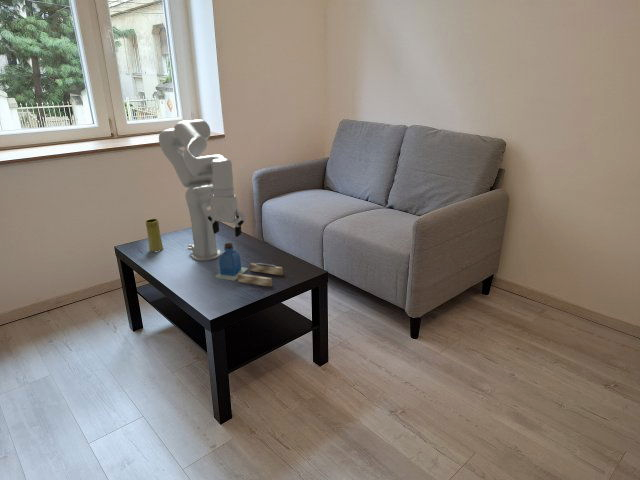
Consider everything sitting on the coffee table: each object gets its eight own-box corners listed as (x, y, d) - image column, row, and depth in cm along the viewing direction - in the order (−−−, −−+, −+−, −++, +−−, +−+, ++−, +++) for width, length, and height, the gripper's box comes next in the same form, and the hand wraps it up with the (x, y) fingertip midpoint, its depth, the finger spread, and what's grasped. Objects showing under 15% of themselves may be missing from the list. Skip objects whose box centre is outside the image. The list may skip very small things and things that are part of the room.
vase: (166, 248, 204) (161, 219, 199) (155, 253, 199) (150, 223, 194) (157, 246, 207) (152, 217, 202) (146, 250, 203) (141, 221, 197)
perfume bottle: (234, 276, 175) (232, 248, 171) (220, 274, 177) (217, 246, 172) (241, 269, 181) (238, 242, 176) (227, 268, 182) (224, 241, 178)
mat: (214, 277, 175) (214, 276, 175) (228, 266, 185) (228, 265, 185) (234, 280, 173) (234, 279, 172) (247, 269, 182) (247, 268, 182)
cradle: (237, 281, 172) (237, 273, 171) (251, 269, 182) (250, 261, 181) (270, 286, 168) (270, 278, 166) (282, 274, 178) (282, 265, 176)
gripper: (198, 192, 166) (202, 234, 172) (239, 196, 161) (242, 240, 167) (209, 187, 172) (213, 228, 179) (248, 191, 167) (251, 233, 174)
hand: (227, 234), depth 173 cm, fingers open, 9 cm apart
